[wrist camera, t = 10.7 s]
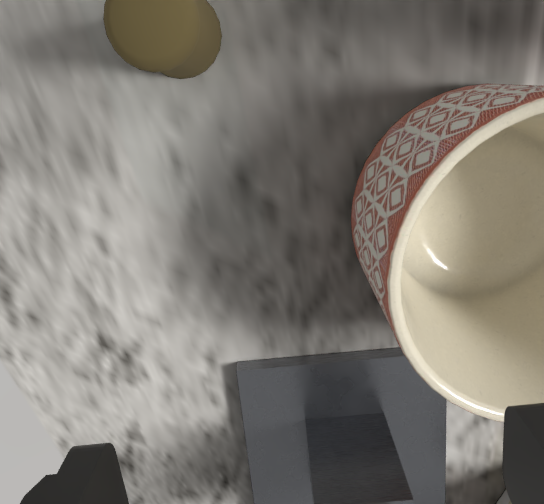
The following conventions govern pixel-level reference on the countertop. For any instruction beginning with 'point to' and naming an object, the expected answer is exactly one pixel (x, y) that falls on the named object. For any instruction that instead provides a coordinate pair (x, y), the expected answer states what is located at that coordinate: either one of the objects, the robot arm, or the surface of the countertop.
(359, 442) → the stand base
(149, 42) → the cork
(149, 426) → the countertop surface
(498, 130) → the planter
